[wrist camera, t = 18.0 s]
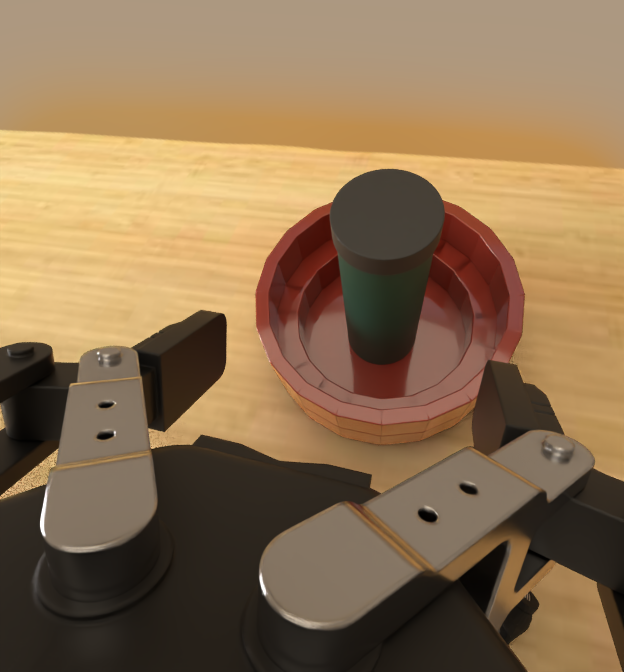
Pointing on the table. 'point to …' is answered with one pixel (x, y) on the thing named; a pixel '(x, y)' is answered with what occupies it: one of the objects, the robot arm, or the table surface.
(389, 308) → the tube
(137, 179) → the table surface
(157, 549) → the robot arm
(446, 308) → the bowl
